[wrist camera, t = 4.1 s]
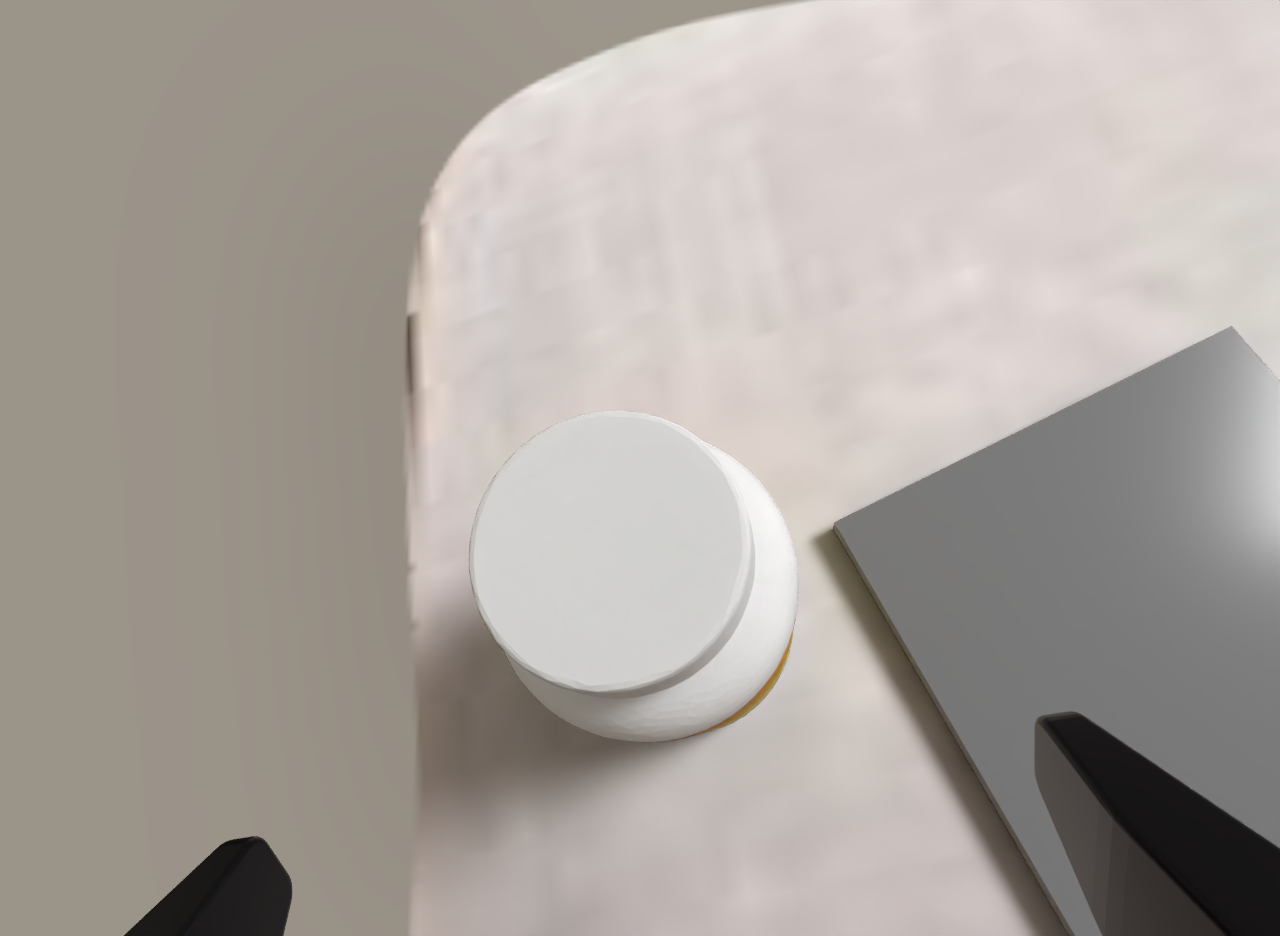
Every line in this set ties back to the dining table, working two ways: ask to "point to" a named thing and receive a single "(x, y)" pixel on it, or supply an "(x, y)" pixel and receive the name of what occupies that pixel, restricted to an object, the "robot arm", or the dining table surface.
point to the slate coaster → (1102, 590)
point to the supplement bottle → (635, 577)
